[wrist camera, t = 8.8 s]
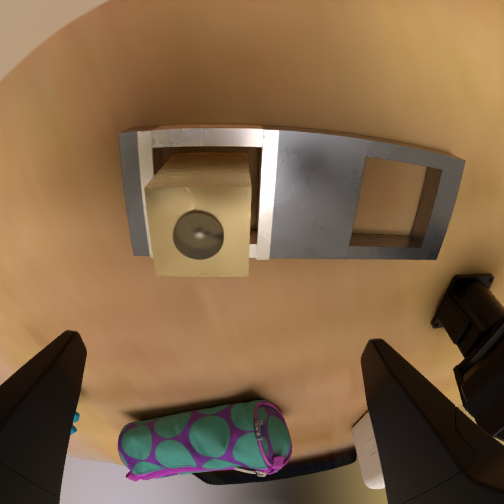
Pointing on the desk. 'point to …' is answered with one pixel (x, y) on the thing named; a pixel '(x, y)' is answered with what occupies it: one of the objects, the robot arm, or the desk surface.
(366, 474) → the photo printer
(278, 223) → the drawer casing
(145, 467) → the pencil case
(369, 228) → the desk surface
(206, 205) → the wooden pull-out drawer
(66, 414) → the robot arm
